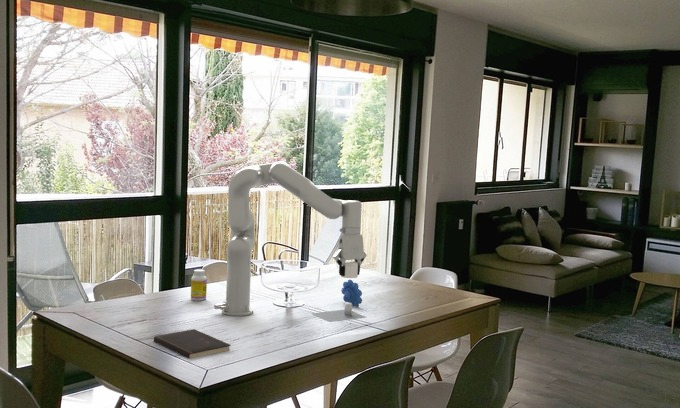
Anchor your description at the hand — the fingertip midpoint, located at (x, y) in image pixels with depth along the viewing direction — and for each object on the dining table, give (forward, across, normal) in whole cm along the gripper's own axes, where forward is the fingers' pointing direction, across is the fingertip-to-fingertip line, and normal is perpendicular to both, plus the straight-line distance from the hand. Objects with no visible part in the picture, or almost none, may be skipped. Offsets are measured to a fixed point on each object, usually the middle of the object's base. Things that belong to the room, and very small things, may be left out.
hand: (349, 274), depth 275 cm
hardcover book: (+18, -70, -9) cm, 73 cm away
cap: (+1, 0, 0) cm, 1 cm away
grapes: (+18, +11, +14) cm, 26 cm away
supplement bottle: (+18, -44, +52) cm, 70 cm away
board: (+18, -4, 0) cm, 18 cm away
